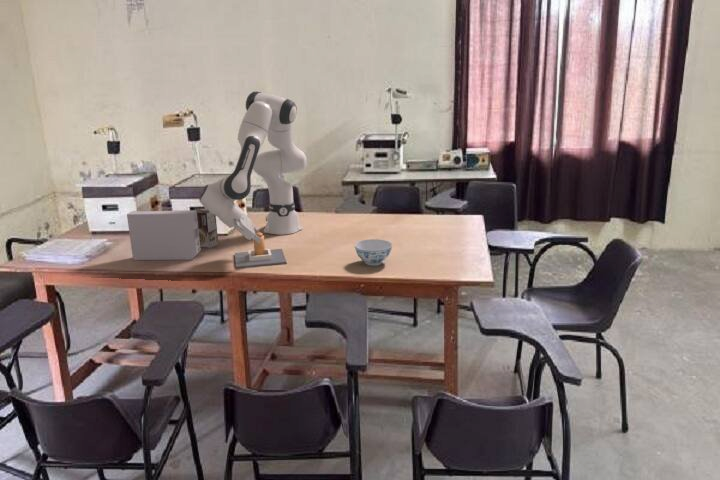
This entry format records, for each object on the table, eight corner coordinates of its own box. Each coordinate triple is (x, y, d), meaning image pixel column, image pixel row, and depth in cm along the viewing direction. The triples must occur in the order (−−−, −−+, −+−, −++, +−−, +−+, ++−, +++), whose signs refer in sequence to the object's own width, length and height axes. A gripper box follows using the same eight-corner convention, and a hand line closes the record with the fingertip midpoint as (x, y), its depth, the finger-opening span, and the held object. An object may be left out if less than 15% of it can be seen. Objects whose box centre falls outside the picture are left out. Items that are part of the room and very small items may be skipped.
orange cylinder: (254, 256, 246) (252, 232, 243) (264, 255, 247) (263, 231, 244) (255, 259, 242) (253, 235, 239) (265, 258, 243) (264, 234, 240)
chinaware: (357, 256, 245) (356, 239, 243) (393, 257, 244) (393, 239, 242) (352, 268, 231) (352, 250, 229) (391, 269, 229) (391, 250, 227)
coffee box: (219, 244, 266) (215, 209, 262) (210, 248, 261) (206, 212, 256) (203, 242, 270) (199, 207, 265) (193, 246, 264) (190, 211, 260)
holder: (234, 254, 251) (234, 248, 250) (281, 250, 255) (281, 244, 255) (236, 268, 234) (235, 261, 233) (286, 263, 239) (286, 257, 238)
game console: (138, 256, 252) (132, 210, 246) (201, 255, 251) (196, 210, 246) (132, 260, 247) (126, 214, 241) (197, 259, 246) (192, 213, 240)
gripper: (240, 217, 228) (267, 239, 233) (238, 205, 247) (263, 226, 252) (229, 229, 228) (256, 251, 233) (228, 216, 247) (253, 237, 252)
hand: (260, 238), depth 242 cm, fingers open, 8 cm apart
